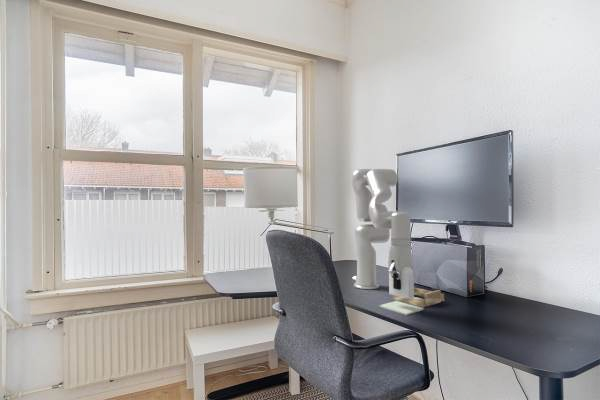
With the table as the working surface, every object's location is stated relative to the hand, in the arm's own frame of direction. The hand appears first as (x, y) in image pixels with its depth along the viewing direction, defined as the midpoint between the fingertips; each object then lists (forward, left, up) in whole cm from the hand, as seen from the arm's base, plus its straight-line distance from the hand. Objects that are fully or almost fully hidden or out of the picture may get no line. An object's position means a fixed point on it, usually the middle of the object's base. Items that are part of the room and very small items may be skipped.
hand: (401, 287), depth 135 cm
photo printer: (0, 0, -4) cm, 4 cm away
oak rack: (-3, +16, -8) cm, 18 cm away
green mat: (0, 0, -8) cm, 8 cm away
